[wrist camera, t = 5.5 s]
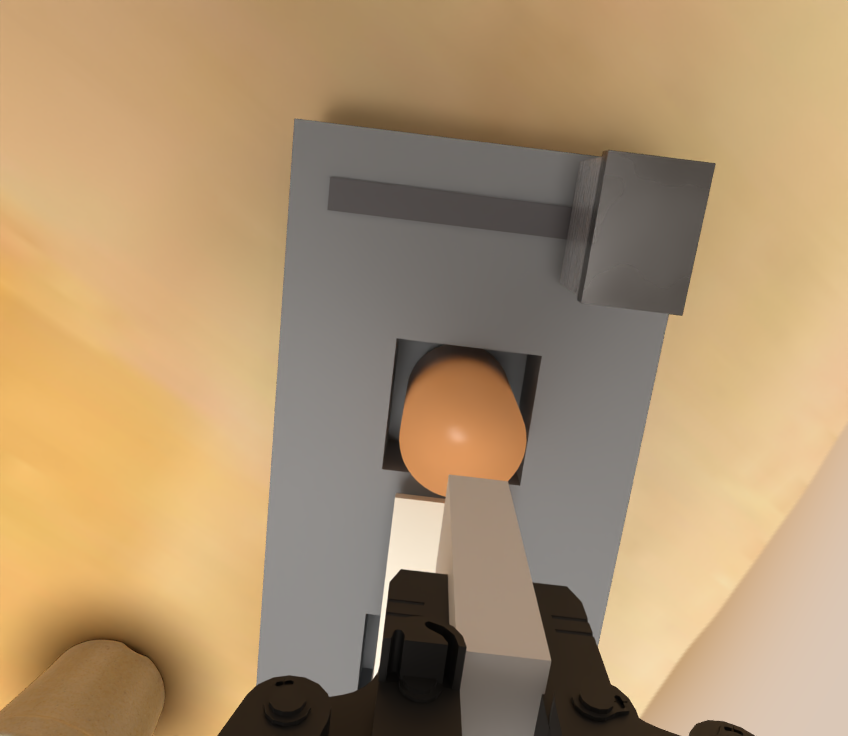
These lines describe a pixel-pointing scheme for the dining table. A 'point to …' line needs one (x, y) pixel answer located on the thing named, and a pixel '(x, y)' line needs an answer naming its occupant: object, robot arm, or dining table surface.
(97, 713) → the flower pot
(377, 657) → the rocker
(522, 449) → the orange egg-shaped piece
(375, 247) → the console
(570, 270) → the fader
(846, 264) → the dining table surface
